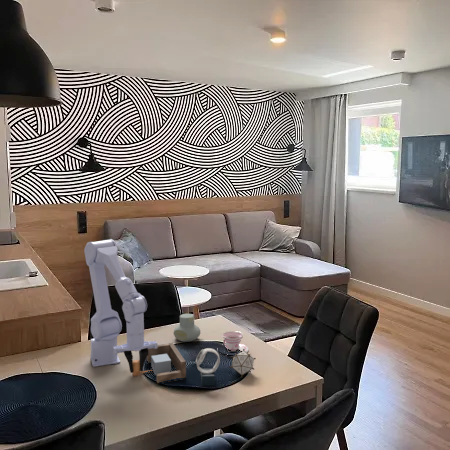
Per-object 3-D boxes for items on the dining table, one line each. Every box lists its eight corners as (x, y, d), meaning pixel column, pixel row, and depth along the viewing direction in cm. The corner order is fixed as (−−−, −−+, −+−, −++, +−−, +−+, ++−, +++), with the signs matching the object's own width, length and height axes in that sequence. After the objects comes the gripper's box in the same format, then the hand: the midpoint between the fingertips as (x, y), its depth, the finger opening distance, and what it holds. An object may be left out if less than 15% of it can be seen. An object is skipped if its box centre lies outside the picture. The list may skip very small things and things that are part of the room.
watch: (195, 377, 157) (195, 346, 156) (219, 377, 158) (219, 345, 156) (195, 385, 152) (195, 353, 150) (220, 384, 152) (220, 352, 151)
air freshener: (170, 339, 191) (169, 315, 190) (182, 333, 198) (182, 310, 197) (191, 345, 185) (191, 321, 184) (203, 338, 192) (203, 315, 191)
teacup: (232, 342, 189) (232, 327, 188) (254, 350, 181) (255, 335, 180) (211, 350, 181) (210, 334, 180) (233, 359, 172) (233, 343, 172)
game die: (240, 381, 163) (243, 352, 168) (259, 380, 157) (261, 350, 162) (223, 375, 157) (226, 346, 162) (242, 374, 152) (244, 343, 157)
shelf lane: (157, 383, 153) (157, 365, 153) (147, 362, 169) (146, 346, 168) (185, 378, 157) (185, 361, 156) (172, 358, 173) (172, 342, 172)
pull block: (134, 378, 156) (133, 365, 156) (131, 371, 162) (130, 358, 161) (171, 372, 161) (171, 360, 160) (167, 365, 166) (166, 353, 166)
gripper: (115, 339, 151) (116, 379, 153) (159, 333, 156) (159, 372, 158) (112, 331, 158) (113, 370, 159) (154, 326, 163) (155, 363, 165)
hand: (136, 370), depth 159 cm, fingers closed on pull block, 3 cm apart
